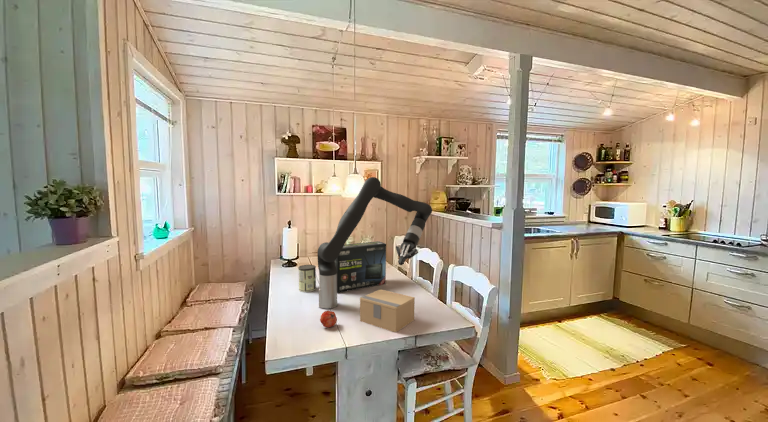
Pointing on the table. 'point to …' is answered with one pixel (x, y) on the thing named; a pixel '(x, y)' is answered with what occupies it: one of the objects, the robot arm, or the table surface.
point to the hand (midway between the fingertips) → (400, 264)
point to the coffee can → (307, 278)
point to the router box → (361, 266)
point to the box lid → (387, 299)
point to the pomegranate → (328, 319)
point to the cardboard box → (387, 315)
